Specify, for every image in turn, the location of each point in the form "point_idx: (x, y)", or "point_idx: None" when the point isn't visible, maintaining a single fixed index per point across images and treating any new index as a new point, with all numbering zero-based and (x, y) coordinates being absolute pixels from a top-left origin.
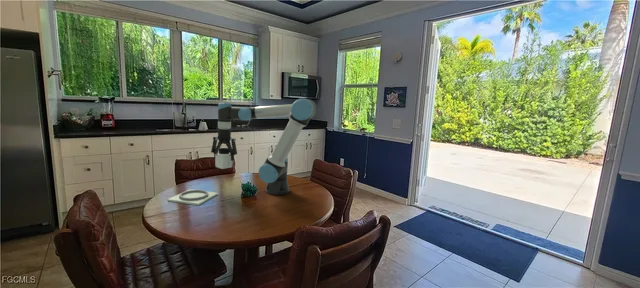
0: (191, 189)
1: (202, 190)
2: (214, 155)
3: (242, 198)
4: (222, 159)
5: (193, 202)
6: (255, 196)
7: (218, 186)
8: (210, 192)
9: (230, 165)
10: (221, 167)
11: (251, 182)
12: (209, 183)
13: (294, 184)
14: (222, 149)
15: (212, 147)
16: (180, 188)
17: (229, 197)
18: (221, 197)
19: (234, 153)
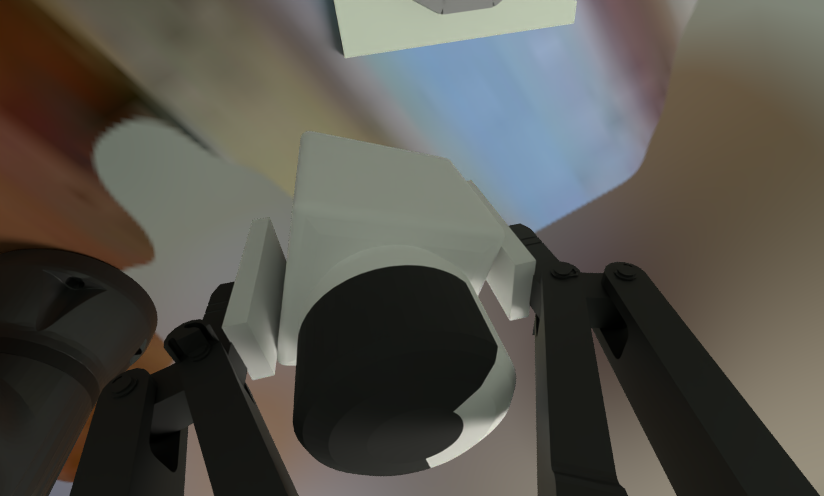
0: (562, 22)
1: (458, 3)
2: (544, 251)
3: (109, 70)
4: (311, 185)
5: None
6: (77, 161)
7: None
8: (399, 34)
9: (252, 227)
10: (333, 138)
11: None
12: (528, 206)
13: None
14: (380, 361)
15: (681, 337)
16: (648, 33)
17: (215, 38)
18: (267, 4)
19: (112, 397)
